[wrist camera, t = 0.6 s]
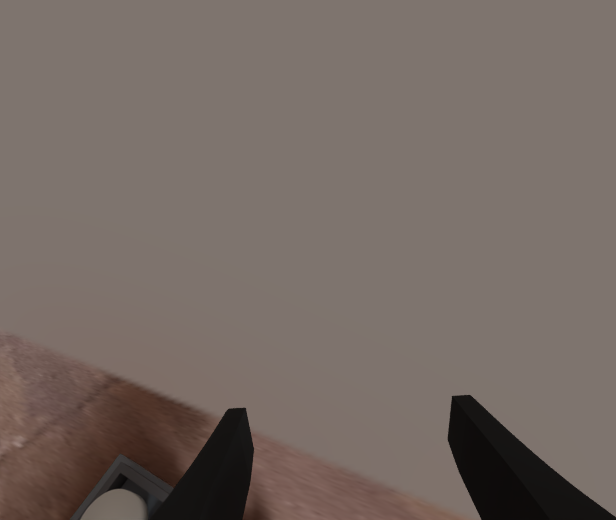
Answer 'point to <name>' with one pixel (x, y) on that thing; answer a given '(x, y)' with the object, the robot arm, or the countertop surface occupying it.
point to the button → (117, 507)
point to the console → (129, 485)
